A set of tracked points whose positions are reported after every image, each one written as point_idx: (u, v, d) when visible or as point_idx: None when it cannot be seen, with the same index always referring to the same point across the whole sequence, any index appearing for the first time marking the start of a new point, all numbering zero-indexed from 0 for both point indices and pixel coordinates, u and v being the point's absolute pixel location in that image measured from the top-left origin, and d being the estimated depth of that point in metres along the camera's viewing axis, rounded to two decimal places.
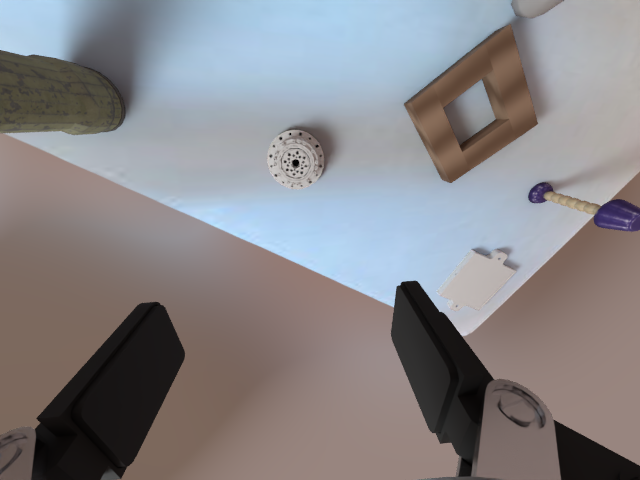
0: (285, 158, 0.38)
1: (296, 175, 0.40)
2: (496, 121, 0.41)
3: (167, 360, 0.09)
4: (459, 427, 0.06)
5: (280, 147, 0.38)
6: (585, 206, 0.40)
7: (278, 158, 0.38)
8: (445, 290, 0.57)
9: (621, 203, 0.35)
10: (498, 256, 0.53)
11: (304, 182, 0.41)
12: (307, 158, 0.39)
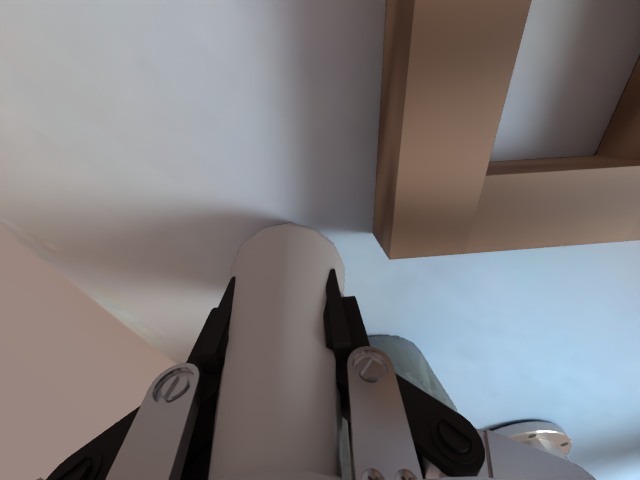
0: None
1: None
2: None
3: None
4: None
5: None
6: None
7: None
8: None
9: None
10: None
11: None
12: None
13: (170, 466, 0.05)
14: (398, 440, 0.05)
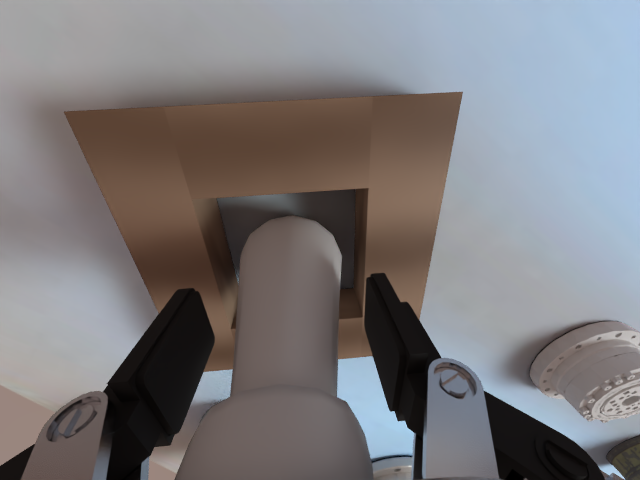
0: (629, 410, 0.21)
1: None
2: None
3: (202, 342, 0.09)
4: (408, 402, 0.07)
5: None
6: None
7: (633, 413, 0.21)
8: None
9: None
10: None
11: None
12: (610, 398, 0.20)
13: None
14: (479, 466, 0.04)
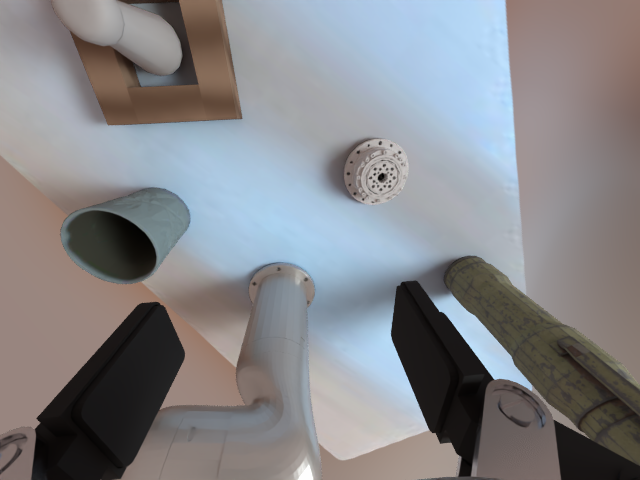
0: (387, 189, 0.35)
1: (390, 166, 0.33)
2: None
3: (167, 360, 0.09)
4: (459, 427, 0.06)
5: (382, 199, 0.36)
6: None
7: (392, 193, 0.35)
8: None
9: None
10: None
11: (389, 152, 0.33)
12: (368, 175, 0.34)
13: None
14: None
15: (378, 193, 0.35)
